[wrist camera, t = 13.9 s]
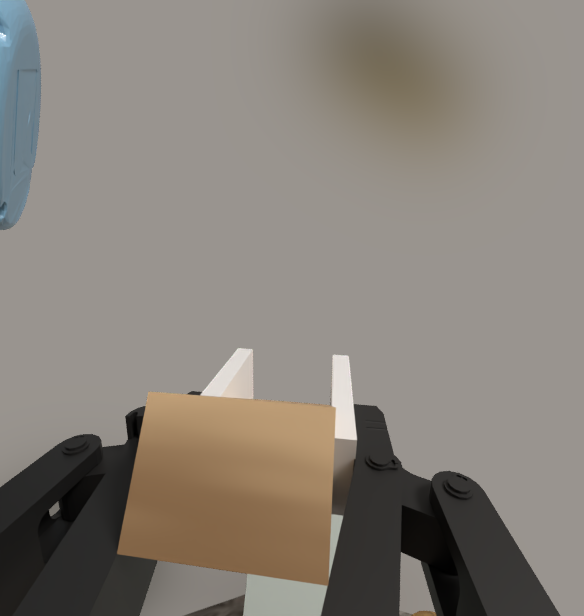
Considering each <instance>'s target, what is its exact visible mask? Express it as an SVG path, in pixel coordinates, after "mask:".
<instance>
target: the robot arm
mask: <svg viewBox="0 0 584 616" xmlns="http://www.w3.org/2000/svg"><path fill="white" fill-rule="evenodd" d="M40 70H41V68H40V53H39V45H38V38H37V33H36V28H35V24H34V21H33V18H32V15H31V13H30V10H29V8H28V6H27V4H26V2H25V0H0V230H6V229H9V228H11V227H13V226H14V225H15V224H16V223H17V221H18V220H19V218H20V216H21V214H22V211H23V209H24V207H25V203H26V200H27V196H28V193H29V187H30V180H31V173H32V168H33V166H34V162H35V156H36V149H37V140H38V131H39V118H40V99H41V98H40V97H41V71H40ZM331 382H332V383H331V399H330V401H331V402H330V406H333V407H335V408H336V418H335V442H334V465H333V489H332V512H331V514H334V515H342V516H343V519H342V524H341V528H340V533H339V537H338V542H337V546H336V550H335V555H334V559H333V564H332V568H331V573H330V577H329V583H328V586H327V590H326V595H325V599H324V604H323V608H322V612H321V616H399V601H400V557H401V552H402V553H405V554H407V555H409V556H411V557H413V558H416V559H418V560H420V561H421V564H422V567H423V571H424V574H425V578H426V581H427V585H428V588H429V592H430V595H431V598H432V602H433V605H434V609H435V612H436V616H560V614H559V613H558V611H557V610H556V608H555V606H554V605H553V603H552V601H551V600H550V598H549V596H548V595H547V593H546V592H545V590H544V588H543V587H542V585H541V584H540V582H539V580H538V578H537V577H536V575H535V574H534V572H533V570H532V569H531V567H530V565H529V564H528V562H527V561H526V559H525V557H524V555H523V554H522V552H521V551H520V549H519V547H518V546H517V544H516V543H515V541H514V539H513V537H512V536H511V534H510V533H509V531H508V529H507V528H506V526H505V524H504V523H503V521H502V519H501V518H500V516H499V515H498V513H497V511H496V510H495V508H494V506H493V505H492V503H491V502H490V500H489V498H488V497H487V495H486V493H485V492H484V490H483V489H482V488H481V487H480V486H479V485H478V484H477V483H476V482H475V481H473V480H472V479H470V478H469V477H466V476H464V475H462V474H460V473H456V472H451V471H443V472H439V473H437V474H435V475H434V477H433V478H432V481H430V480H427V479H424V478H421V477H418V476H416V475H413V474H411V473H410V472H408V471H406V470H405V469H403V468H402V465H401V462H400V461H399V459H398V458H397V457H396V456H395V455H394V454H393V449H392V446H391V442H390V438H389V434H388V431H387V426H386V422H385V418H384V414H383V413H382V412H381V411H380V410H379V409H378V407H377V406H367V405H357V404H353V395H352V385H351V374H350V364H349V356H343V355H333V364H332V381H331ZM188 395H202V396H216V397H230V398H244V399H253V349H242V348H238V349H237V350H236V352H235V353H234V354H233V355H232V357H231V358H230V359H229V360H228V361H227V363H226V364H225V365H224V367H223V368H222V369H221V370H220V371H219V373H218V374H217V375H216V376H215V378H214V379H213V380H212V381H211V382H210V384H209V385H208V386H207V387H206V389H205V390H204V391H203V392H195V391H192V392H190V393H188ZM145 407H146V406H143V407H140V408H137V409H135V410H133V411H131V412H130V413H129V414H128V415H126V416H125V417H126V424H127V434H128V440H127V442H126V443H125V444H124V445H117V446H109V447H102V444H101V439H100V438H99V436H96V435H93V434H83V435H78V436H74V437H72V438H69V439H67V440H65V441H63V442H62V443H60V444H58V445H57V446H55V447H54V448H53V449H51V450H50V451H49V452H47V453H46V454H44V455H43V456H42V457H40V458H39V459H38V460H36V461H35V462H34V463H32V464H31V465H30V466H28V467H27V468H26V469H24V470H23V471H22V472H20V473H19V474H18V475H16V476H15V477H14V478H12V479H11V480H9V481H8V482H7V483H5V484H4V485H3V486H2V487H0V616H139V615H140V612H141V609H142V606H143V603H144V600H145V597H146V594H147V591H148V588H149V585H150V582H151V578H152V576H153V573H154V569H155V566H156V564H157V560H153V559H146V558H140V557H133V556H126V555H120V554H117V551H118V546H119V540H120V535H121V530H122V525H123V520H124V515H125V510H126V505H127V499H128V494H129V489H130V484H131V479H132V474H133V469H134V464H135V459H136V453H137V448H138V443H139V438H140V433H141V428H142V423H143V418H144V413H145ZM57 501H59V508H60V510H59V511H58V512H57V513H56V514H54V515H53V516H50V514H49V509H50V508H51V507H52V506H53V505H54V504H55V503H56V502H57Z"/></svg>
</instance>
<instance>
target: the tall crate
mask: <svg viewBox="0 0 584 616" xmlns="http://www.w3.org/2000/svg"><path fill="white" fill-rule="evenodd" d="M342 519H343V516H342V515H334V514H331V536H330V560H329V577H330V573H331V568H332V564H333V559H334V555H335V550H336V546H337V542H338V537H339V533H340V528H341V524H342ZM326 590H327V586H325V585H319V584H312V583H305V582H299V581H292V580H286V579H279V578H272V577H266V576H259V575H252V574H247V584H246V593H245V603H244V613H243V616H321V612H322V608H323V604H324V599H325V595H326Z"/></svg>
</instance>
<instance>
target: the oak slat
mask: <svg viewBox="0 0 584 616" xmlns="http://www.w3.org/2000/svg"><path fill="white" fill-rule="evenodd" d="M335 418H336V408H335V407H333V406H330V405H322V404H310V403H309V404H308V403H298V402H284V401H271V400H258V399H244V398H230V397H216V396H202V395H188V394H174V393H160V392H148V397H147V402H146V407H145V413H144V418H143V423H142V428H141V433H140V438H139V443H138V448H137V453H136V459H135V464H134V469H133V474H132V479H131V484H130V489H129V494H128V499H127V505H126V510H125V515H124V520H123V525H122V530H121V535H120V540H119V546H118V551H117V554H120V555H126V556H133V557H140V558H146V559H153V560H160V561H166V562H173V563H179V564H186V565H193V566H199V567H206V568H213V569H219V570H226V571H232V572H239V573H246V574H252V575H259V576H266V577H272V578H279V579H286V580H292V581H299V582H305V583H312V584H319V585H325V586H328V583H329V560H330V536H331V512H332V489H333V465H334V442H335Z"/></svg>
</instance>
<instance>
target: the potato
mask: <svg viewBox="0 0 584 616" xmlns="http://www.w3.org/2000/svg"><path fill="white" fill-rule="evenodd" d="M411 616H436V613H435V612H431V611H419V612H417V613H414V614H413V615H411Z"/></svg>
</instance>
